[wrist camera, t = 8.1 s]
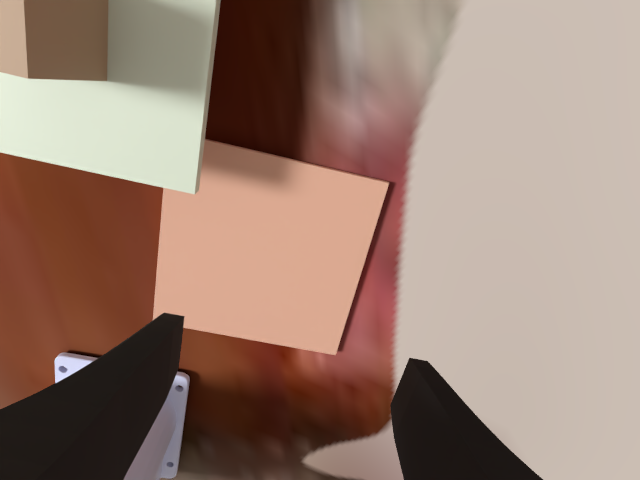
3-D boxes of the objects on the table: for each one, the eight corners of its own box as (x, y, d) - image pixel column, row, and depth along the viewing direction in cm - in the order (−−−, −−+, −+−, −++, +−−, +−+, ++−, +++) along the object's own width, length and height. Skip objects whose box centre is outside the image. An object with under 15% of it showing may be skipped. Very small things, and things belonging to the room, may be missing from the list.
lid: (198, 190, 16) (155, 229, 11) (-58, 134, 15) (-211, 154, 10) (233, -106, 12) (188, -214, 8) (-107, -208, 11) (-375, -396, 7)
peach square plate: (335, 350, 23) (335, 355, 23) (155, 317, 22) (152, 322, 22) (387, 181, 19) (389, 183, 19) (171, 130, 18) (167, 131, 18)
